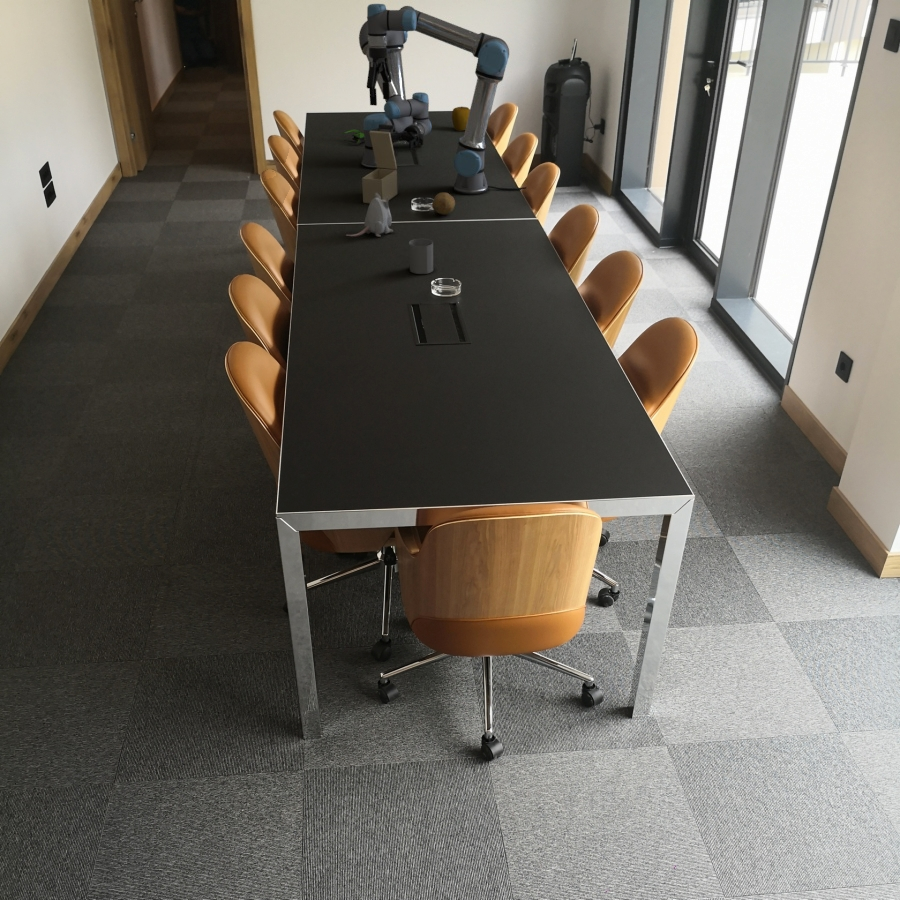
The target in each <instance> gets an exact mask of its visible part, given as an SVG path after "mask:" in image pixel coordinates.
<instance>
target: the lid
mask: <svg viewBox="0 0 900 900" xmlns="http://www.w3.org/2000/svg"><path fill="white" fill-rule="evenodd" d="M380 129H386V130H390V131H389V132H381V131H380ZM394 129H395V126H394V125H382V124H379V128H378V129H377V131H370V132H369V133H370V138H371V142H372V147H373V151H374V156H375V160H376V165H377V168H382V169H390V170H397V169H398V165H397V160H396V155H394V154H395V150H394V145H393V142H392V140H391V135H390V134H391V132H392V131H393V130H394Z"/></svg>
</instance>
